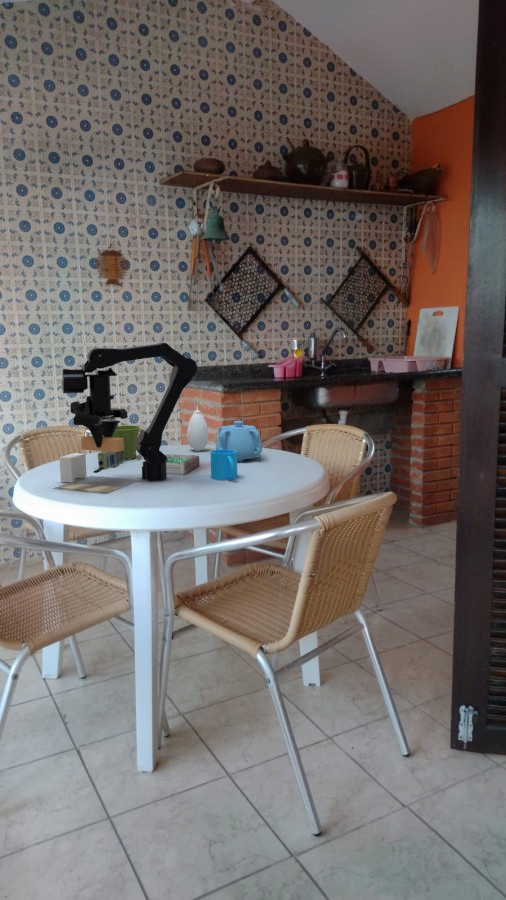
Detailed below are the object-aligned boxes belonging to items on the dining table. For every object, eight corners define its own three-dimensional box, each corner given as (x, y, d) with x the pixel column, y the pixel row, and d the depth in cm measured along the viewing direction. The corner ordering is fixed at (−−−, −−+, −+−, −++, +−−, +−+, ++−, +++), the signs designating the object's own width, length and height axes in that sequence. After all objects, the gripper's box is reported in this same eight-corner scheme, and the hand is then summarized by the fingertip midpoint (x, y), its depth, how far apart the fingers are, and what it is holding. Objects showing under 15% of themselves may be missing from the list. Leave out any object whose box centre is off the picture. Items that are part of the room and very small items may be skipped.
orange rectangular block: (123, 450, 186) (123, 438, 186) (117, 452, 183) (116, 439, 183) (89, 447, 191) (88, 435, 190) (81, 449, 188) (81, 437, 187)
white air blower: (200, 453, 241) (199, 405, 238) (183, 451, 245) (182, 404, 242) (212, 450, 247) (211, 403, 244) (196, 448, 252) (195, 402, 248)
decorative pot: (213, 463, 223) (212, 424, 220) (218, 454, 238) (217, 418, 236) (260, 463, 222) (260, 424, 219) (262, 454, 237) (262, 418, 235)
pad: (119, 488, 182) (119, 487, 182) (106, 493, 176) (106, 492, 176) (72, 484, 188) (72, 482, 188) (58, 488, 182) (58, 487, 182)
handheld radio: (127, 461, 228) (100, 476, 203) (118, 461, 228) (90, 476, 204) (125, 443, 227) (98, 455, 202) (116, 443, 227) (88, 456, 203)
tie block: (86, 477, 195) (85, 453, 194) (72, 482, 189) (70, 458, 187) (75, 476, 197) (74, 453, 195) (60, 481, 190) (59, 457, 189)
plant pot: (120, 454, 240) (119, 424, 238) (147, 456, 236) (146, 425, 234) (101, 460, 229) (99, 428, 227) (129, 462, 225) (128, 430, 223)
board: (141, 483, 192) (141, 480, 192) (106, 497, 176) (105, 493, 176) (90, 479, 199) (90, 475, 199) (52, 492, 183) (52, 488, 182)
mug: (207, 476, 202) (206, 450, 201) (231, 473, 205) (231, 448, 204) (220, 484, 191) (220, 456, 190) (246, 481, 194) (245, 454, 193)
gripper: (96, 389, 196) (98, 440, 198) (55, 394, 179) (59, 450, 181) (127, 390, 192) (129, 442, 194) (89, 395, 174) (92, 452, 177)
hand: (102, 446), depth 187 cm, fingers closed on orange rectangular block, 3 cm apart
